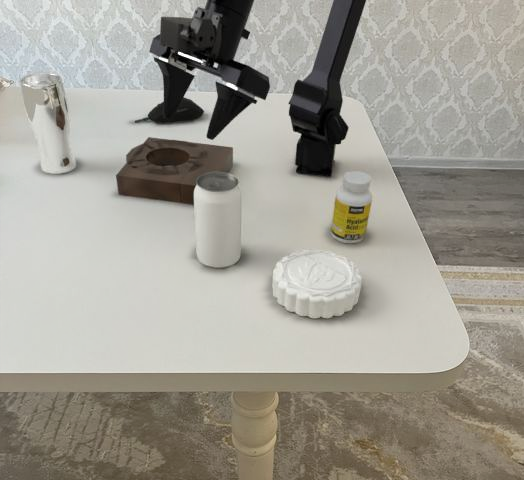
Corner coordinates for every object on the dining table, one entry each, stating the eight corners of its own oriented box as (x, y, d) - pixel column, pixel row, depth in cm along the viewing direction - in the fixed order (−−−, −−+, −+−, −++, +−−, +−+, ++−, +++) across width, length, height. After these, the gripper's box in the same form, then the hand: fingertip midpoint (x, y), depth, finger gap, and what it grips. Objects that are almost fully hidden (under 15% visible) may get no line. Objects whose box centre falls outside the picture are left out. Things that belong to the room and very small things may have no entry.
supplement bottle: (342, 247, 90) (351, 188, 83) (323, 230, 93) (331, 172, 87) (371, 239, 92) (383, 181, 85) (352, 223, 95) (361, 165, 89)
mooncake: (253, 292, 81) (254, 270, 78) (308, 257, 87) (310, 236, 85) (323, 332, 75) (326, 310, 72) (376, 291, 82) (380, 270, 79)
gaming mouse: (131, 116, 124) (129, 97, 121) (198, 109, 129) (197, 90, 126) (138, 128, 120) (136, 108, 117) (207, 120, 124) (207, 100, 122)
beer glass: (68, 177, 103) (50, 88, 93) (31, 172, 104) (10, 84, 94) (85, 160, 108) (70, 74, 98) (49, 156, 109) (31, 70, 99)
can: (246, 250, 88) (248, 175, 80) (231, 273, 84) (231, 196, 75) (206, 241, 90) (204, 166, 81) (189, 264, 85) (184, 187, 77)
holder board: (233, 165, 109) (233, 146, 107) (210, 207, 97) (209, 187, 95) (144, 154, 111) (142, 135, 109) (112, 193, 99) (109, 174, 97)
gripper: (137, -30, 76) (102, 92, 81) (237, -2, 67) (191, 135, 72) (196, 7, 85) (161, 115, 90) (292, 36, 76) (247, 155, 81)
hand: (187, 128), depth 83 cm, fingers open, 9 cm apart
